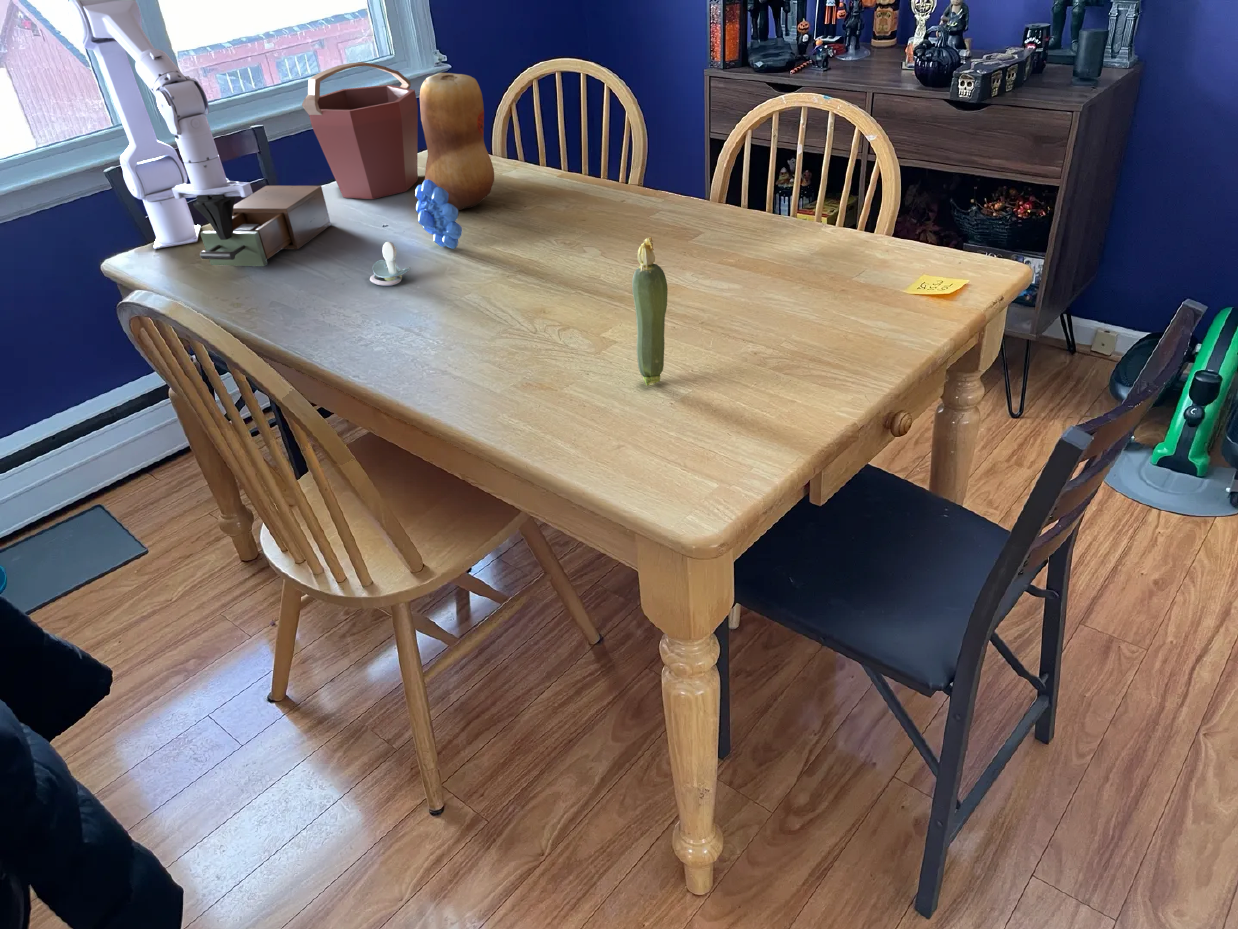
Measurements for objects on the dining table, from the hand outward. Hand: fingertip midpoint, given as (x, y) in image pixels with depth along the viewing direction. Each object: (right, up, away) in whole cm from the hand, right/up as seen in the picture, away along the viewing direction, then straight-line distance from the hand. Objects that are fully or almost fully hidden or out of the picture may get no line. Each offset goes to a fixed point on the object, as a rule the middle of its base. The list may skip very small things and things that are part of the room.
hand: (227, 237), depth 162 cm
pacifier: (+30, -9, -5) cm, 31 cm away
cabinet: (+4, +5, +17) cm, 18 cm away
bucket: (+15, +21, +40) cm, 48 cm away
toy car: (+2, 0, +8) cm, 8 cm away
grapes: (+36, -1, +6) cm, 37 cm away
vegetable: (+73, -29, -41) cm, 89 cm away
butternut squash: (+38, +12, +24) cm, 46 cm away
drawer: (+1, -2, +6) cm, 7 cm away
